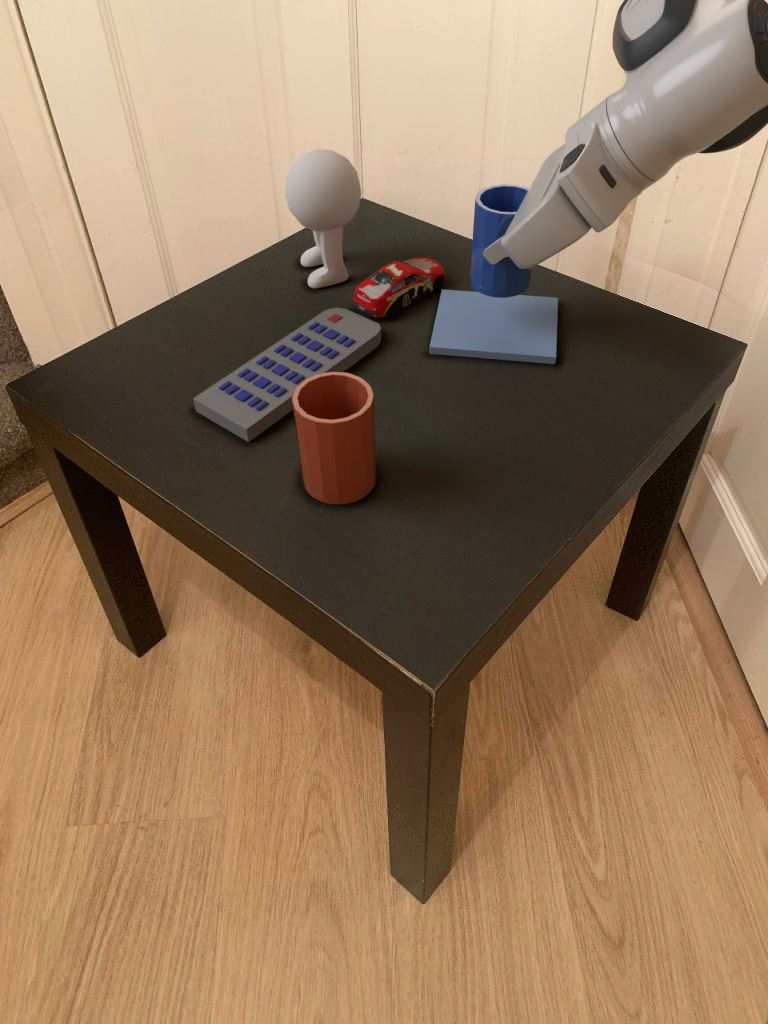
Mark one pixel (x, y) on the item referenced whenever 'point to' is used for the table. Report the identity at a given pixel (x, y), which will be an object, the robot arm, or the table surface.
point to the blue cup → (489, 223)
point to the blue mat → (496, 327)
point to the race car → (398, 286)
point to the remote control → (287, 371)
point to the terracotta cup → (336, 436)
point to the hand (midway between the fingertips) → (498, 237)
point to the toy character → (323, 209)
